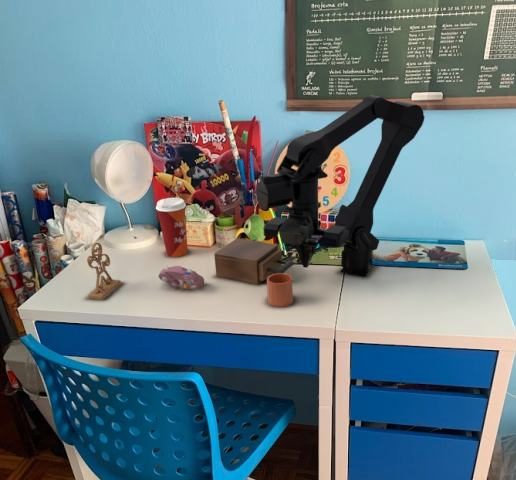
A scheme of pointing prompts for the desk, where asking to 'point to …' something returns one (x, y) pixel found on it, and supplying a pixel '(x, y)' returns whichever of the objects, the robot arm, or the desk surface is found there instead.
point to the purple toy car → (181, 277)
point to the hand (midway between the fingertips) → (306, 267)
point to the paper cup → (173, 225)
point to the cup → (280, 289)
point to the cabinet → (242, 260)
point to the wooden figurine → (108, 284)
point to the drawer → (273, 265)
